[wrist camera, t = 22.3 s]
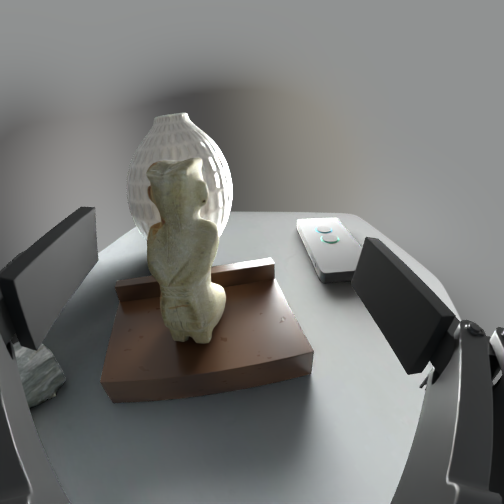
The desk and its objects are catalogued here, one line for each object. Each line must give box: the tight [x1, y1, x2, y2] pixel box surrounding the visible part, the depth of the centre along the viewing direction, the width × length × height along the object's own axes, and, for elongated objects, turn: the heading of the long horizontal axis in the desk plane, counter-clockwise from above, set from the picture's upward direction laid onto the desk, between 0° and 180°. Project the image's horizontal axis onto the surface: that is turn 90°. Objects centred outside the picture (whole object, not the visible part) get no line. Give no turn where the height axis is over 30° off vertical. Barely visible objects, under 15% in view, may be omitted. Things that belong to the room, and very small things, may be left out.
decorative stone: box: [13, 342, 66, 408], centre depth 18 cm, size 13×10×6 cm
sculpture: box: [146, 157, 226, 344], centre depth 23 cm, size 6×7×15 cm
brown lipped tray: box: [100, 258, 314, 403], centre depth 27 cm, size 18×14×5 cm
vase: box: [127, 113, 232, 240], centre depth 43 cm, size 16×16×22 cm
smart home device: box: [297, 217, 362, 283], centre depth 46 cm, size 8×2×20 cm
